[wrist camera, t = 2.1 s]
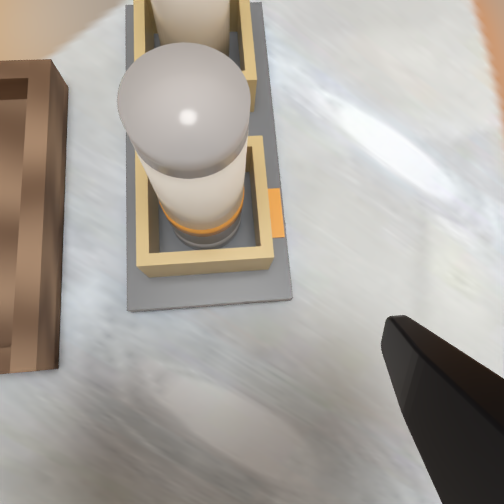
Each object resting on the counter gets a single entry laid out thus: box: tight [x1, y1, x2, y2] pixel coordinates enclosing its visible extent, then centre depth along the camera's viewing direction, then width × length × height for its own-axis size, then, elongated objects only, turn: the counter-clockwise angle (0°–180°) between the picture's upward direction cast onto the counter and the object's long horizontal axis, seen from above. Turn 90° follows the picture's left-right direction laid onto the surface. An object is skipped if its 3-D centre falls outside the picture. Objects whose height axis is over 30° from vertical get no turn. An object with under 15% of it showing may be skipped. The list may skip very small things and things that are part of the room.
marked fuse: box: [117, 42, 251, 250], centre depth 17 cm, size 4×4×11 cm
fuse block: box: [126, 0, 293, 312], centre depth 23 cm, size 20×9×4 cm, turn 4°
